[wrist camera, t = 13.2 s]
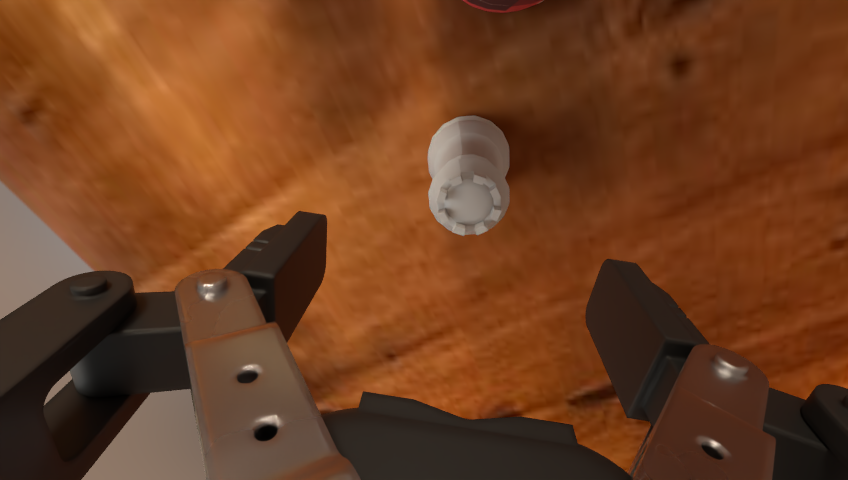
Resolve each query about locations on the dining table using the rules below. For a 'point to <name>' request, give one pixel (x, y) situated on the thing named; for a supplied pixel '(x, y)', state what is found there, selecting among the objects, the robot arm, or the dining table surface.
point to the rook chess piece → (468, 175)
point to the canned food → (502, 5)
